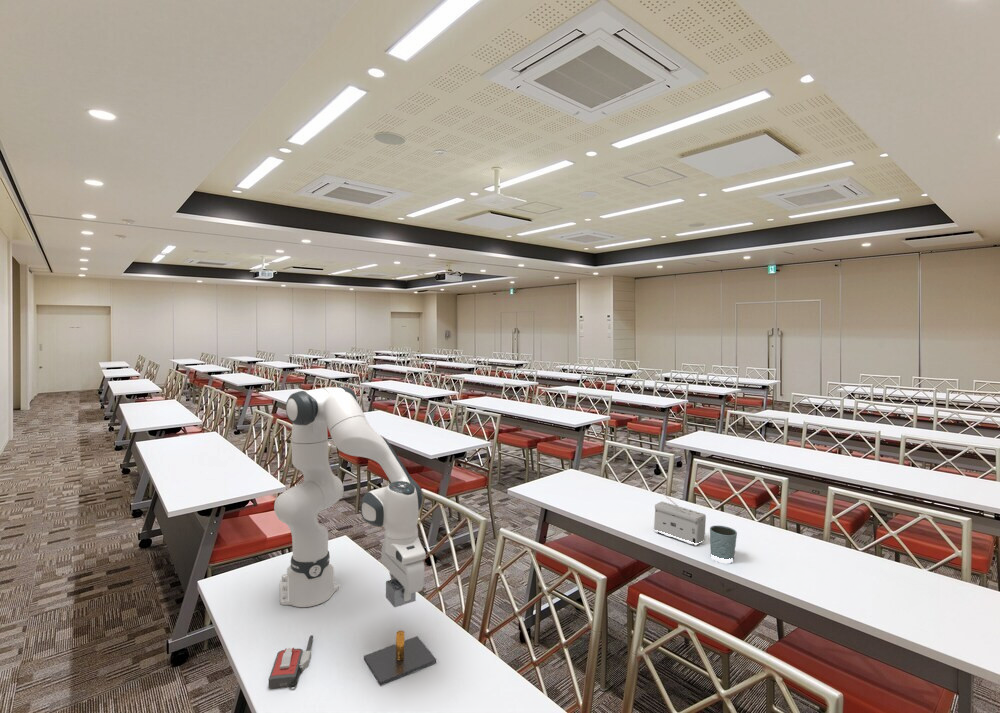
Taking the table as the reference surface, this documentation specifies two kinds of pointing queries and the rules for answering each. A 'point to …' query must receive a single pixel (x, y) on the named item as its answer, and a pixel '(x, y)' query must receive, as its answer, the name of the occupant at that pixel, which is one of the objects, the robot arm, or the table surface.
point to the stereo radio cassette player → (679, 521)
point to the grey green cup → (722, 541)
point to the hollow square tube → (397, 593)
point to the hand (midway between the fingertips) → (400, 593)
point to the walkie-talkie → (289, 666)
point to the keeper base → (399, 667)
